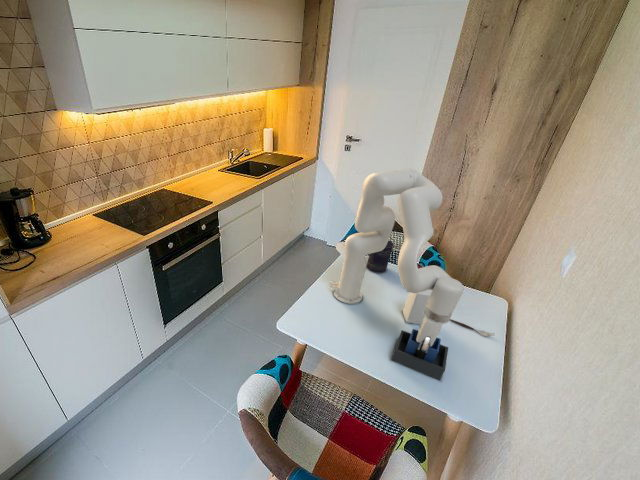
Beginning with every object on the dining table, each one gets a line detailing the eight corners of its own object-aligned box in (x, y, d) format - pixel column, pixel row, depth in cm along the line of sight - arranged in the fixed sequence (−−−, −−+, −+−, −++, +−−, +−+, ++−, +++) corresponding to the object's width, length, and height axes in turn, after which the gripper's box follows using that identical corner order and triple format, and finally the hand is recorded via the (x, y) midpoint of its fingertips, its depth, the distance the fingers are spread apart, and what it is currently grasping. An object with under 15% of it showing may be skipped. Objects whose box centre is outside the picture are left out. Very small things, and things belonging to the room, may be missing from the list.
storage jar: (383, 275, 161) (391, 249, 153) (364, 269, 166) (370, 244, 158) (387, 266, 169) (395, 241, 161) (368, 261, 173) (375, 236, 165)
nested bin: (404, 353, 114) (409, 340, 110) (407, 341, 119) (413, 328, 115) (432, 364, 109) (438, 351, 106) (434, 351, 114) (441, 338, 111)
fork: (449, 318, 134) (450, 314, 133) (494, 336, 125) (496, 332, 124) (447, 321, 132) (449, 317, 131) (493, 340, 124) (495, 336, 123)
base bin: (391, 360, 115) (395, 349, 112) (397, 340, 123) (401, 329, 120) (439, 380, 108) (445, 370, 105) (443, 357, 116) (448, 347, 113)
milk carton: (424, 325, 130) (440, 287, 120) (406, 322, 132) (420, 285, 121) (419, 314, 136) (434, 277, 126) (402, 311, 137) (415, 275, 127)
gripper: (428, 295, 112) (413, 332, 121) (420, 323, 99) (404, 362, 109) (452, 302, 108) (435, 340, 118) (447, 333, 96) (428, 372, 106)
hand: (420, 350), depth 113 cm, fingers closed on nested bin, 7 cm apart
